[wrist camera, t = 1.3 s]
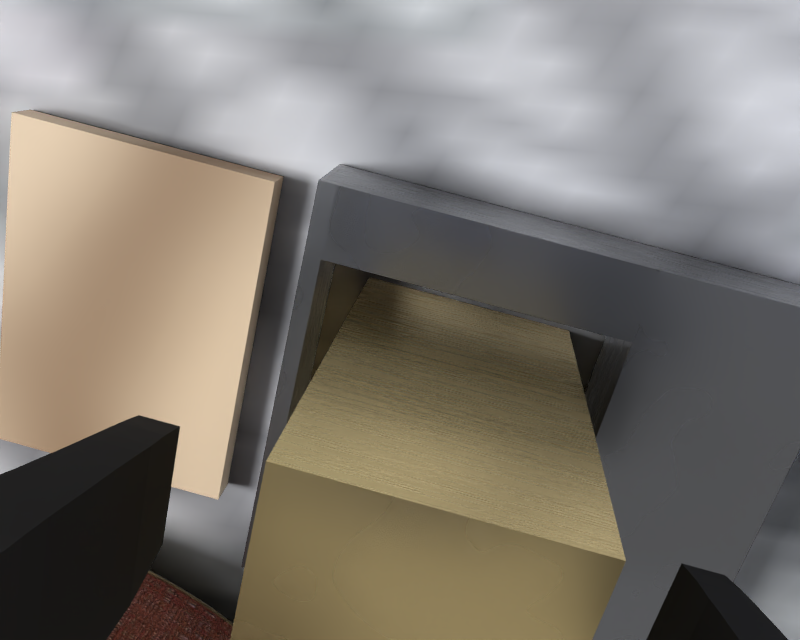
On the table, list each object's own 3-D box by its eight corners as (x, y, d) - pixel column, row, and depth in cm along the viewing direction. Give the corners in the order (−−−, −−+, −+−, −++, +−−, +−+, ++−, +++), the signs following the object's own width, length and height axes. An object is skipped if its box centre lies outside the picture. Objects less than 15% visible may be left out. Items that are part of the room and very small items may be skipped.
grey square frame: (817, 289, 14) (862, 324, 12) (660, 624, 17) (678, 690, 15) (340, 163, 14) (318, 179, 12) (267, 515, 17) (241, 566, 15)
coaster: (283, 176, 14) (274, 182, 14) (227, 484, 17) (217, 499, 16) (30, 109, 14) (12, 112, 14) (12, 424, 17) (-4, 437, 16)
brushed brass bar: (568, 330, 15) (626, 561, 8) (509, 499, 16) (517, 812, 9) (369, 276, 15) (266, 461, 8) (328, 450, 16) (213, 724, 10)
